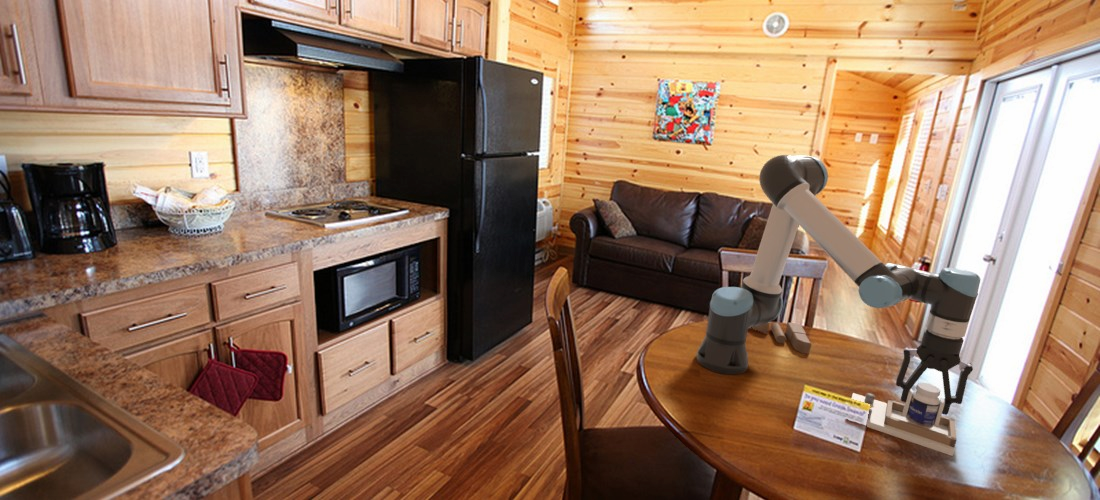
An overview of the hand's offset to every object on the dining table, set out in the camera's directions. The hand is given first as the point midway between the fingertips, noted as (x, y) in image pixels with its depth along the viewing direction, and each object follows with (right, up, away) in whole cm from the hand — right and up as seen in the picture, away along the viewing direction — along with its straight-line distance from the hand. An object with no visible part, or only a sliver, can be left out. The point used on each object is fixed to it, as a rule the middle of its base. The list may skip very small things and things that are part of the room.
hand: (919, 418), depth 125 cm
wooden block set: (-12, +10, +51) cm, 53 cm away
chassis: (-3, -3, +3) cm, 5 cm away
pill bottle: (0, -1, 0) cm, 1 cm away
